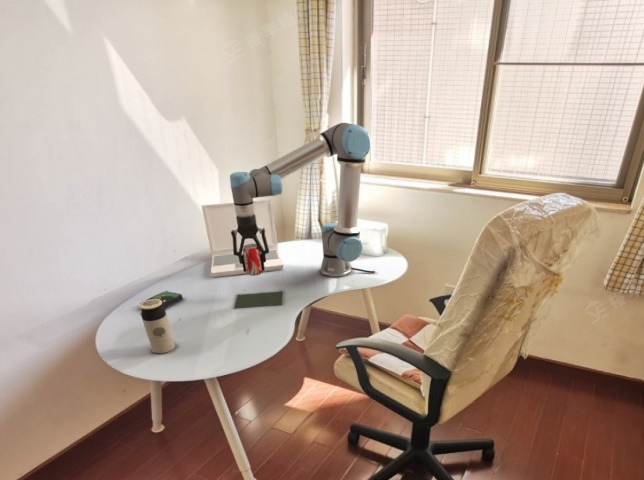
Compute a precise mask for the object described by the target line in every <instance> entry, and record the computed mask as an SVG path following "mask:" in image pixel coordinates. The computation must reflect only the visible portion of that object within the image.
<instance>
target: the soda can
mask: <svg viewBox="0 0 644 480" xmlns="http://www.w3.org/2000/svg"><path fill="white" fill-rule="evenodd" d="M243 247H244V249H243V257H244V263H245V268H246V272H247V274H246V275H248V276H250V277H251V276H252V277H257V276H260V275H261V274H262V273H263V271H262V264H261V257H260V255H261V254H260V250H259V248H258V246H257V245H256V244H246V245H244V246H243Z"/></svg>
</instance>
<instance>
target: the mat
mask: <svg viewBox="0 0 644 480" xmlns="http://www.w3.org/2000/svg"><path fill="white" fill-rule="evenodd" d="M282 305H283V291H271V292H270V291H269V292H258V293H244V294H237V295H236V300H235V303H234V307H233V309H245V308H258V307H259V308H261V307H271V306H273V307H274V306H282Z"/></svg>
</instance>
